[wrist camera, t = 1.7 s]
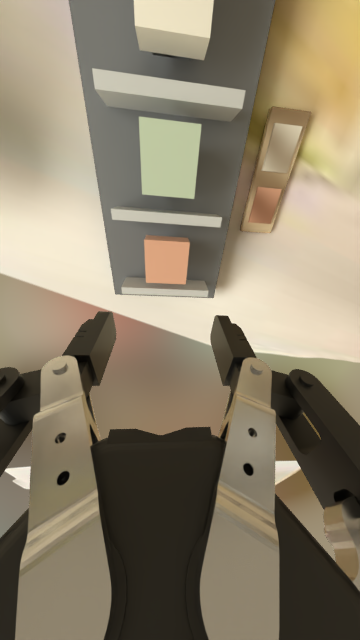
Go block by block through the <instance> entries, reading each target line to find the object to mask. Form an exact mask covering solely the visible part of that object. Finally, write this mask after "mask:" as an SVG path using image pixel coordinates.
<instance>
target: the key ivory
mask: <svg viewBox="0 0 360 640" xmlns="http://www.w3.org/2000/svg"><path fill="white" fill-rule="evenodd" d="M213 3H214V0H134V18H135V29H136V34H137V39H138V44H139V49H140V50H141V51H148V52H154V53H161V54H167V55H173V56H180V57H186V58H192V59H199V60H204V58H205V55H206V51H207V47H208V44H209V40H210V34H211V23H212V13H213Z"/></svg>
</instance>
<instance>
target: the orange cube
mask: <svg viewBox="0 0 360 640" xmlns="http://www.w3.org/2000/svg"><path fill="white" fill-rule="evenodd" d="M189 246H190V242H189V239H188V238H183V237H169V236H154V235H146V237H145V239H144V250H145V273H146V283H164V284H186V277H187V267H188V256H189Z"/></svg>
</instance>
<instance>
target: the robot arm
mask: <svg viewBox="0 0 360 640" xmlns="http://www.w3.org/2000/svg"><path fill="white" fill-rule="evenodd" d="M115 340H116V329H115V323H114V318H113V313H112V312H100V311H99V312H98V313H97V314H96V316H95V318H94V319H89V320H88V321H86V322H85V323H84V324H82V325H81V327H80V329H79V330H78V332H77V333H76V335H75V337H74V338H73V340H72V341H71V343H70V344H69V346H68V347H67V349H66V350H65V352H64V353H63V355H62V356H60V357H57V358H54V359H52V360H51V361H49V362H48V363H47V364H45V366H44V367H43V368H42V369H41V370H38V371H33V372H28V373H24V374H20V373H19V372H18V370H17V369H15V368H11V367H7V368H1V369H0V477H1V475H2V474H3V472H4V471H5V469H6V468H7V466H8V465H9V463H10V462H11V460H12V458H13V457H14V456H15V454H16V452H17V451H18V449H19V448H20V447H21V445H22V444H23V442H24V441H25V439H26V438H27V436H28V434H29V433H30V432H31V430H33V431H32V451H31V473H30V497H29V508H28V509H27V510H26V511H25V513H24V514H23V515H22V516H21V517H20V518H19V519H18V520H17V521H16V522H15V523H14V524H13V525H12V526H11V527H10V528H9V530H7V532H6V533H5V534H4V535H3V536H2V537H1V538H0V640H360V426H359V425H358V423H357V422H356V421H355V420H354V419H353V418H352V417H351V416H350V415H349V413H348V412H347V411H346V410H345V409H344V408H343V407H342V406H341V405H340V404H339V402H338V401H337V400H336V399H335V398H334V397H333V396H332V394H330V392H329V391H328V390H327V389H326V388H325V387H324V386H323V385H322V383H321V382H320V381H319V380H318V379H317V378H315V376H313V375H312V374H310V373H308V372H306V371H303V370H299V369H295V370H292V371H291V372H290V373H289V375H287V374H283V373H279V372H275V371H272V370H271V369H270V367H269V366H268V365H267V364H266V363H265V362H264V361H262V360H260V359H257V358H256V356H255V354H254V352H253V350H252V348H251V346H250V344H249V342H248V341H247V339H246V337H245V336H244V333H243V331H242V329H241V328H240V327H239V326H237V325H236V324H232V323H231V321H230V319H229V317H228V316H219V315H216V316H215V318H214V322H213V327H212V331H211V345H212V348H213V352H214V355H215V359H216V362H217V366H218V370H219V373H220V376H221V380H222V384H223V386H230V389H231V391H230V394H229V398H228V402H227V406H226V409H225V414H224V417H223V421H222V424H221V428H220V430H219V434H218V437H217V436H215V435H211V430H210V427H193V428H184V429H181V430H178V431H174V432H172V433H169V434H165V435H156V434H152V433H149V432H145V431H141V430H138V429H115V430H114V429H113V430H110V432H109V436H108V438H105V439H103V440H101V437H100V434H99V431H98V427H97V424H96V419H95V414H94V409H93V405H92V400H91V396H90V393H89V392H90V390H91V387H92V386H99V385H100V383H101V380H102V377H103V374H104V371H105V368H106V366H107V363H108V360H109V357H110V354H111V352H112V349H113V346H114V343H115ZM303 412H304V413H305V414H306V416H307V417H308V418H309V420H310V421H311V423H312V424H313V425H314V427H315V428H316V430H317V431H318V433H319V435H320V437H321V440H320V438H319V437H318V435H317V434H316V432H315V431H314V429H313V428H312V427H311V425H310V424H309V422H308V421H307V419H306V418H305V417H304V415H303V414H302V413H303ZM276 424H277V426H278V428H279V430H280V431H281V433H282V435H283V437H284V439H285V440H286V442H287V444H288V446H289V448H290V449H291V451H292V453H293V455H294V456H295V458H296V460H297V462H298V464H299V466H300V467H301V469H302V471H303V473H304V475H305V476H306V478H307V480H308V482H309V484H310V486H311V487H312V489H313V491H314V493H315V495H316V496H317V498H318V500H319V502H320V504H321V505H322V507H323V509H324V514H323V519H324V525H325V527H324V533H325V536H326V538H327V540H328V542H329V543H330V544H331V545H332V546H333V549H334V553H335V560H336V562H335V561H334V560H333V559H332V558H331V556H330V555H329V554H328V553H327V552H326V551H325V550H324V548H323V547H322V546H321V545H320V544H319V543H318V542H317V540H316V539H315V538H314V537H313V536H312V535H311V534H310V533H309V531H308V530H307V529H306V528H305V527H304V526H303V525H302V523H301V522H300V521H299V520H298V519H297V518H296V517H295V515H294V514H293V513H292V512H291V511H290V510H289V509H288V507H287V506H286V505H285V504H284V503H283V502H282V501H281V500H280V499H279V497H278V496H277V495H276V494H275V439H276Z"/></svg>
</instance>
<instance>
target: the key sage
mask: <svg viewBox="0 0 360 640" xmlns="http://www.w3.org/2000/svg"><path fill="white" fill-rule="evenodd" d="M201 125H202V124H195V123H187V122H179V121H171V120H163V119H155V118H147V117H139V134H140V157H141V180H142V194H143V195H155V196H166V197H178V198H189V199H194V196H195V186H196V175H197V165H198V155H199V145H200V135H201Z"/></svg>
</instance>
